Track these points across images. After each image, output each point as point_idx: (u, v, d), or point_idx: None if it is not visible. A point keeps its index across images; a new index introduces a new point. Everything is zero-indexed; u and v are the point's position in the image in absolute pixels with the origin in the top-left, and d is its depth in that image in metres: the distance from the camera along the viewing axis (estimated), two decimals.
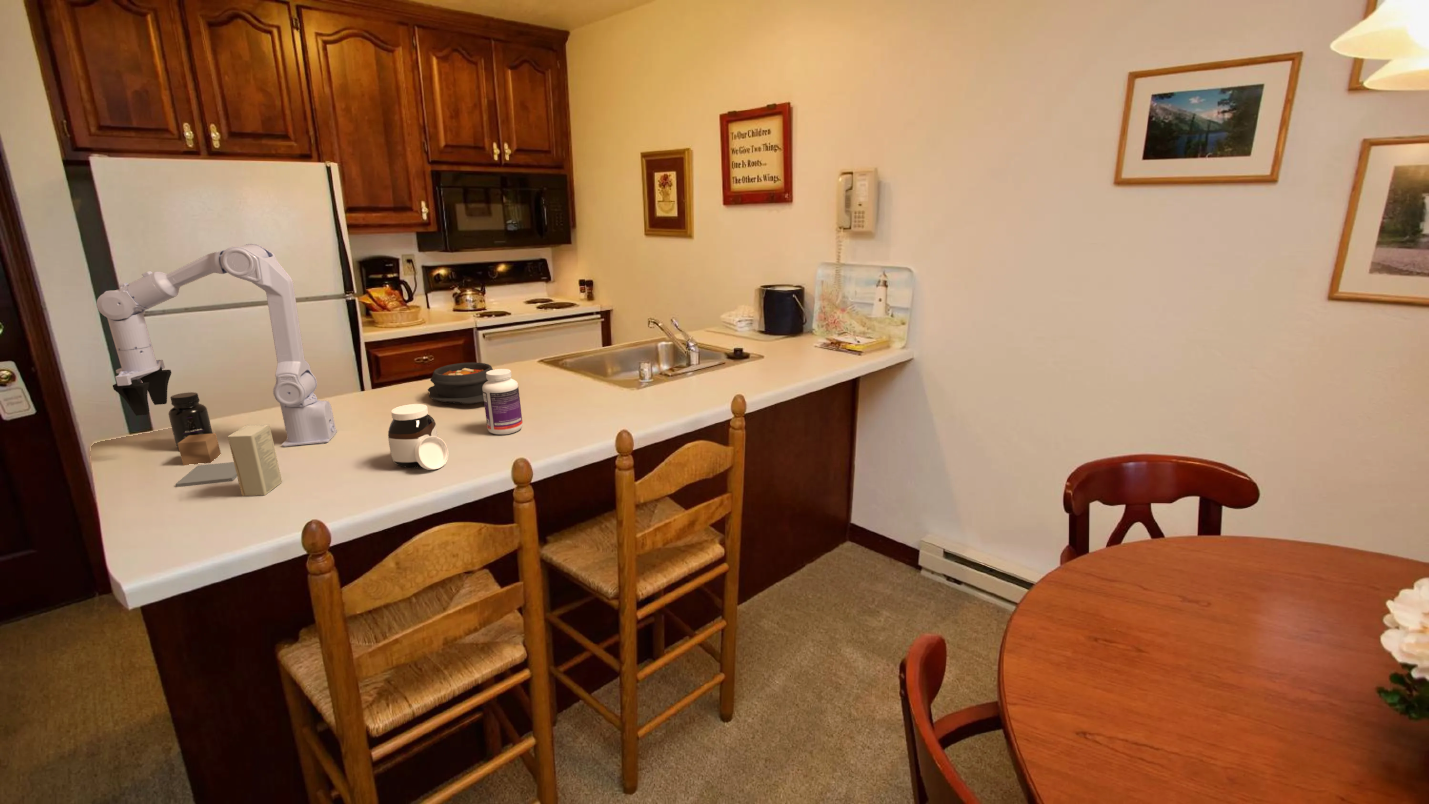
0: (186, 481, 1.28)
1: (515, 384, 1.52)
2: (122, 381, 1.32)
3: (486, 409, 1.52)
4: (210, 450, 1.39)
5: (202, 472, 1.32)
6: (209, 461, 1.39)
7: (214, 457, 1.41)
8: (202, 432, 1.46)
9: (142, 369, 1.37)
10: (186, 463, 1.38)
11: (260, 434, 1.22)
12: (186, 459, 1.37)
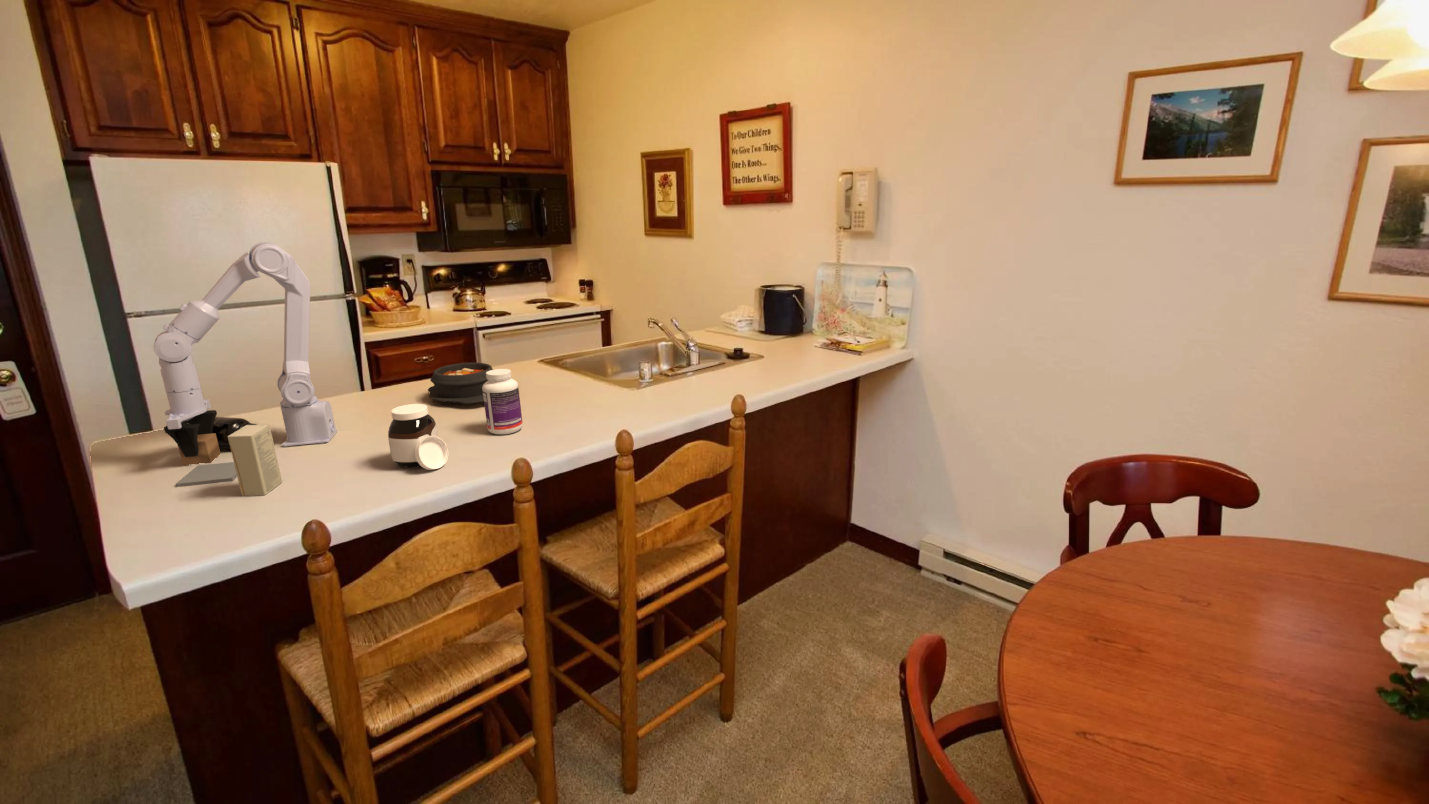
0: (186, 481, 1.28)
1: (515, 384, 1.52)
2: (172, 424, 1.31)
3: (486, 409, 1.52)
4: (210, 450, 1.39)
5: (202, 472, 1.32)
6: (209, 461, 1.39)
7: (214, 457, 1.40)
8: (220, 447, 1.47)
9: (191, 411, 1.35)
10: (186, 463, 1.38)
11: (260, 434, 1.22)
12: (186, 459, 1.37)
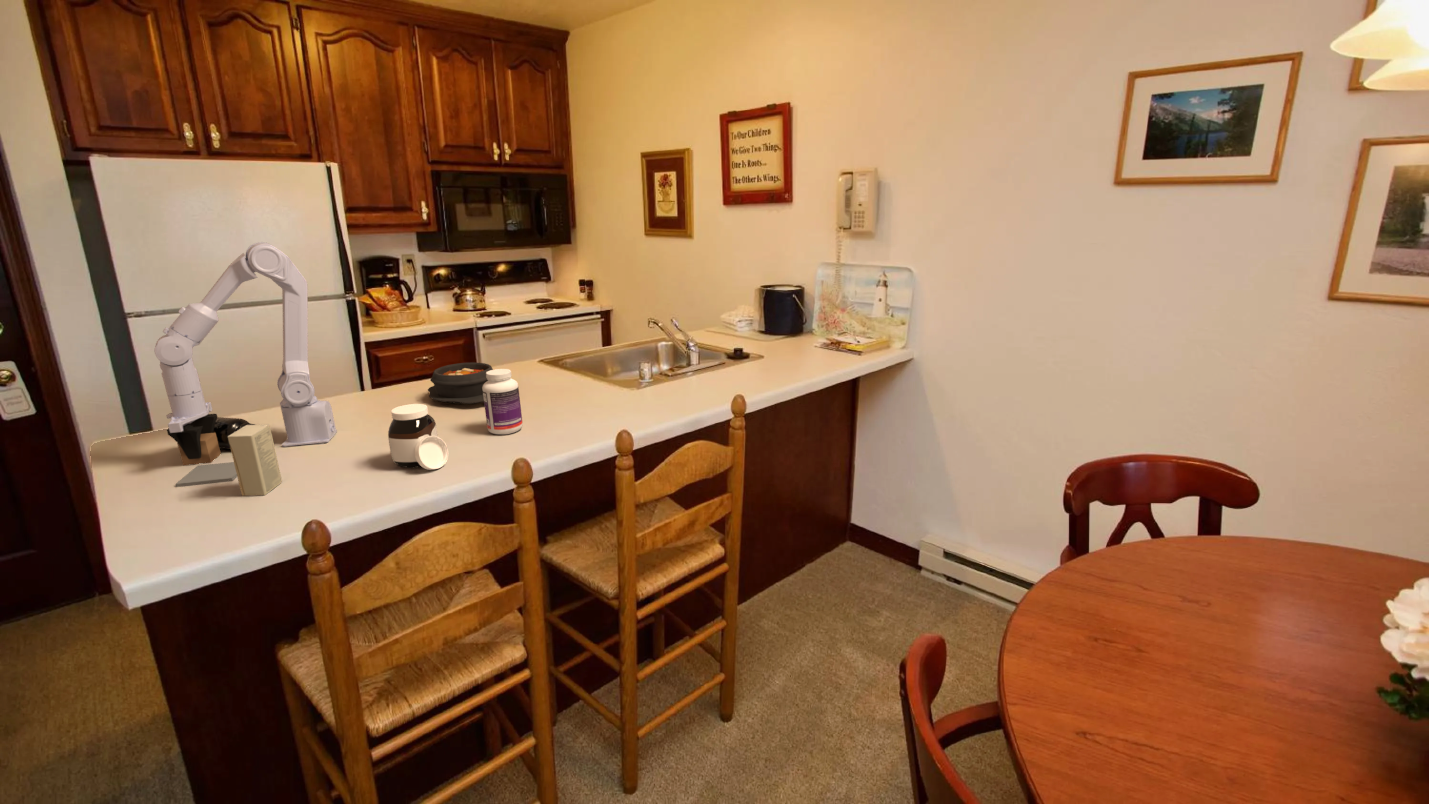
0: (186, 481, 1.28)
1: (515, 384, 1.52)
2: (174, 428, 1.31)
3: (486, 409, 1.52)
4: (210, 449, 1.39)
5: (202, 472, 1.32)
6: (209, 461, 1.39)
7: (214, 456, 1.40)
8: None
9: (193, 414, 1.35)
10: (186, 463, 1.38)
11: (260, 434, 1.22)
12: (186, 459, 1.37)
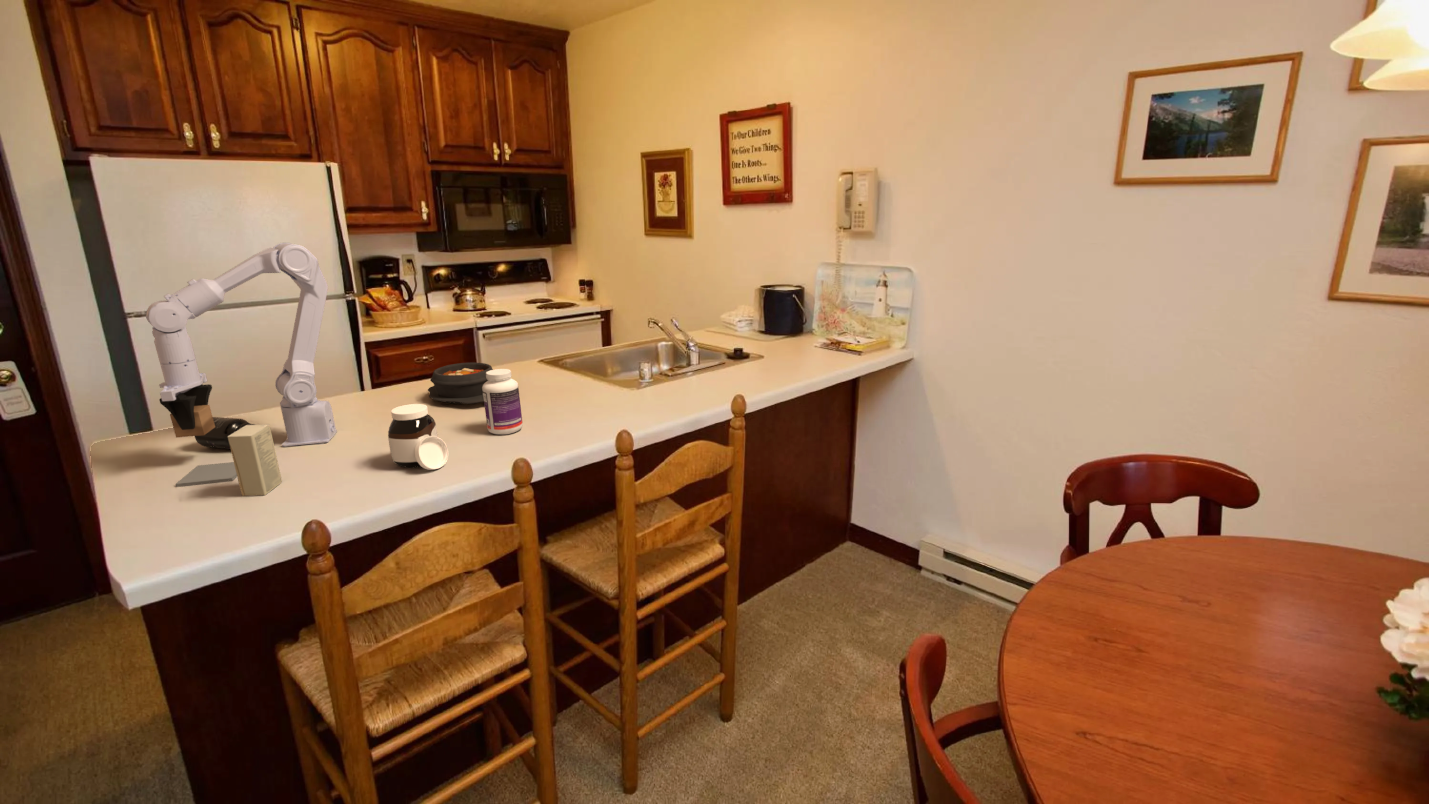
0: (186, 481, 1.28)
1: (515, 384, 1.52)
2: (166, 396, 1.28)
3: (486, 409, 1.52)
4: (204, 422, 1.36)
5: (202, 472, 1.32)
6: (202, 433, 1.35)
7: (207, 429, 1.37)
8: None
9: (186, 383, 1.32)
10: (179, 435, 1.34)
11: (260, 434, 1.22)
12: (179, 431, 1.34)
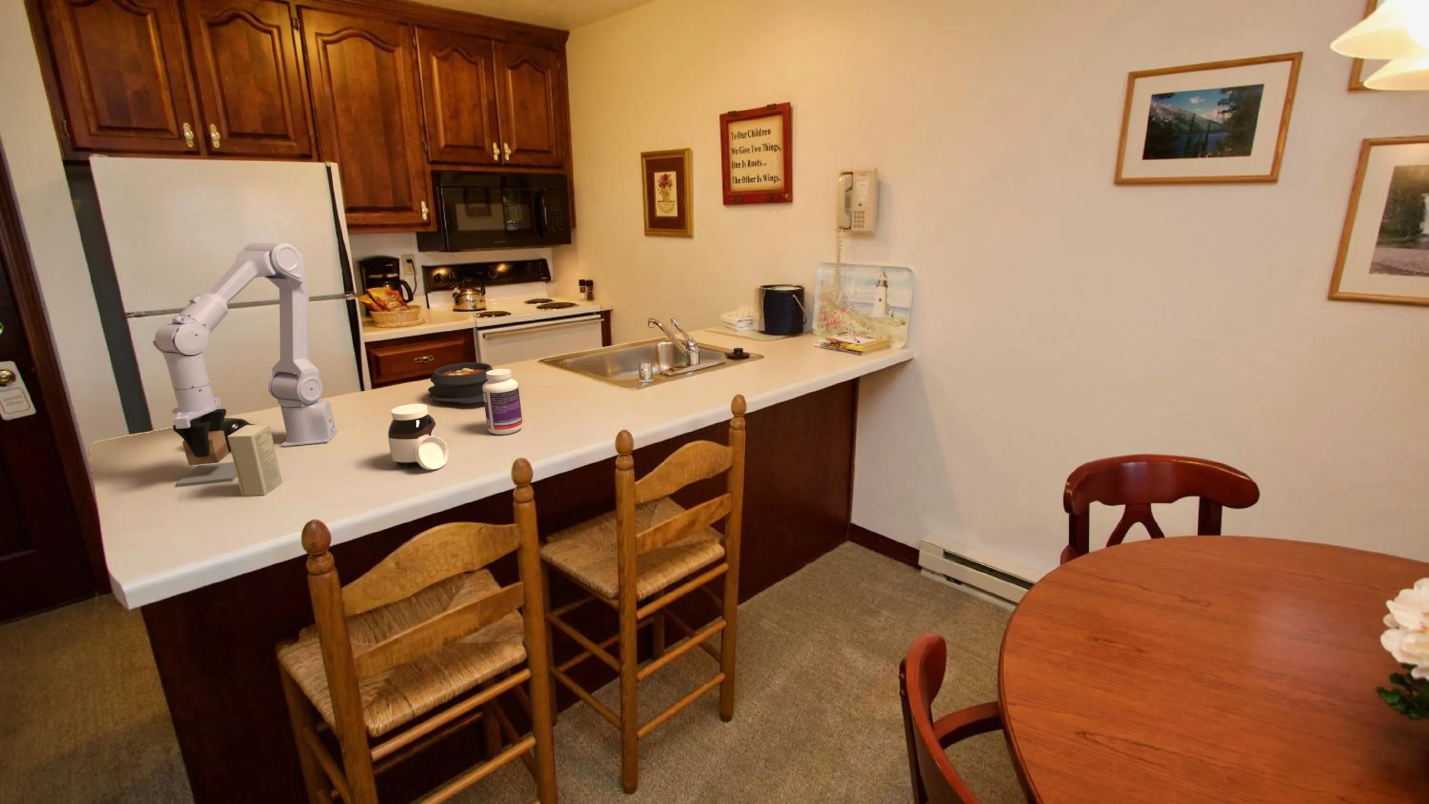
0: (186, 481, 1.28)
1: (515, 384, 1.52)
2: (181, 423, 1.22)
3: (486, 409, 1.52)
4: (217, 449, 1.30)
5: (202, 472, 1.32)
6: (216, 461, 1.30)
7: (221, 456, 1.32)
8: None
9: (200, 409, 1.27)
10: (191, 463, 1.29)
11: (260, 434, 1.22)
12: (191, 458, 1.29)
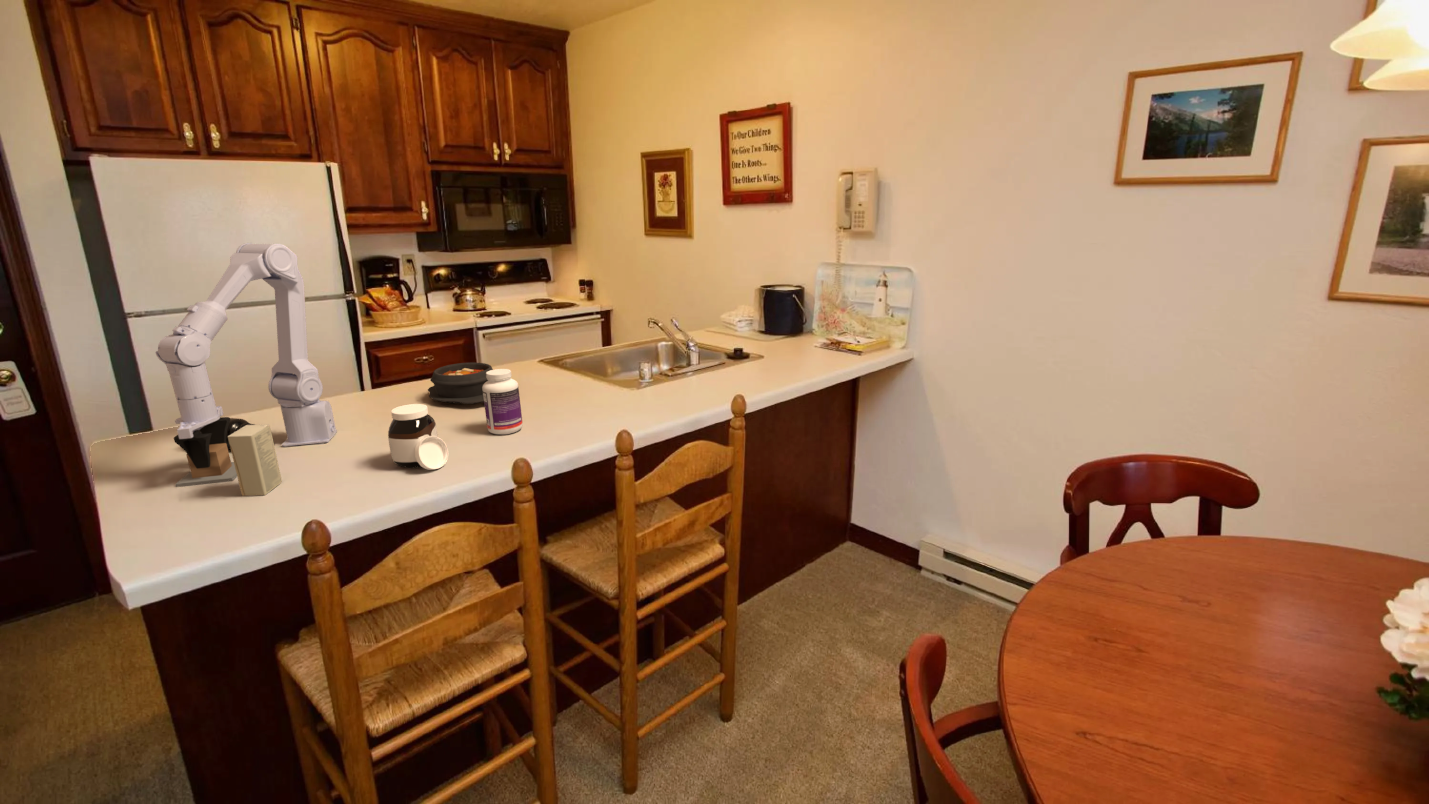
0: (186, 481, 1.28)
1: (515, 384, 1.52)
2: (183, 434, 1.23)
3: (486, 409, 1.52)
4: (221, 461, 1.31)
5: None
6: (220, 473, 1.31)
7: (225, 468, 1.33)
8: None
9: (203, 419, 1.27)
10: (195, 475, 1.30)
11: (260, 434, 1.22)
12: (195, 471, 1.29)
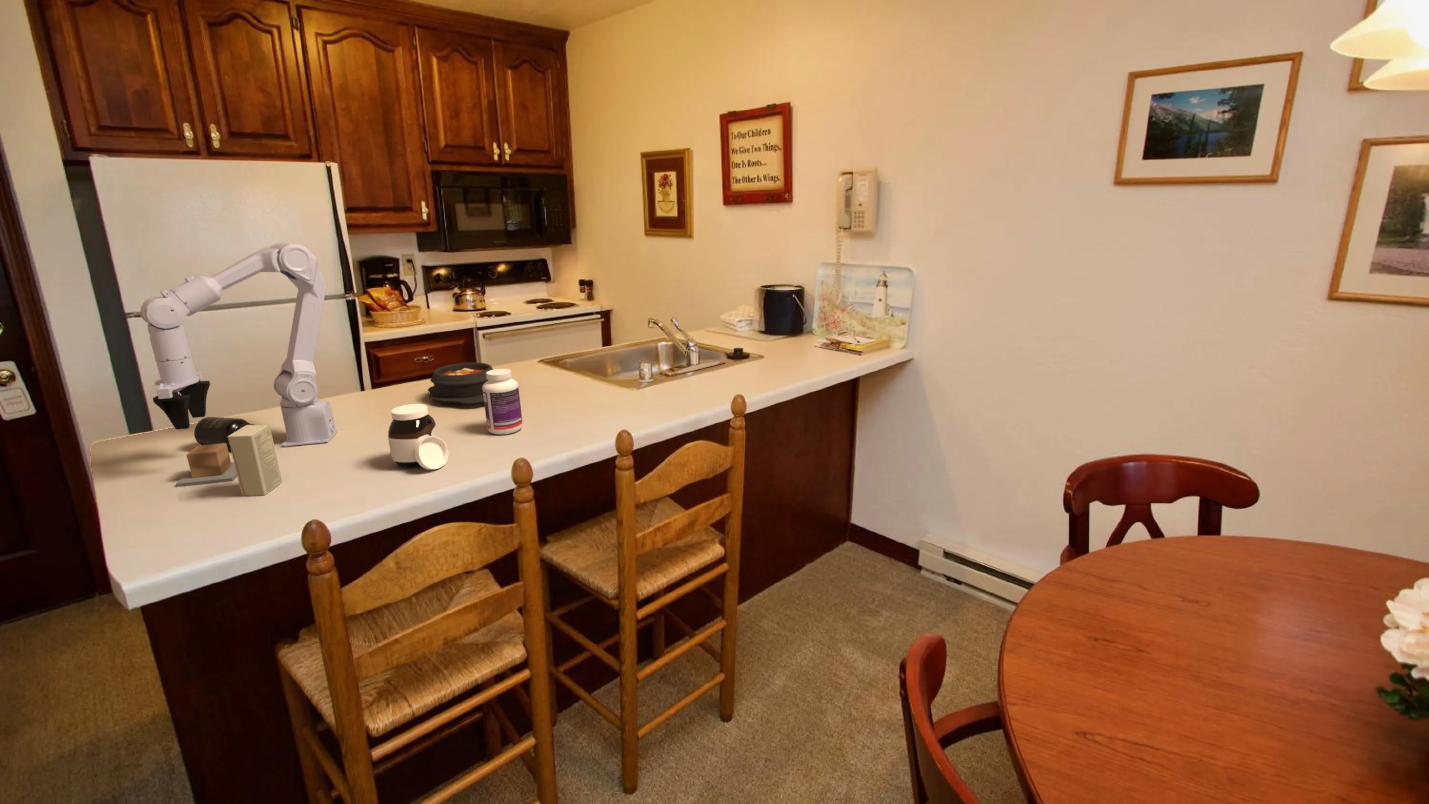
0: (186, 481, 1.28)
1: (515, 384, 1.52)
2: (163, 394, 1.26)
3: (486, 409, 1.52)
4: (221, 461, 1.31)
5: None
6: (220, 473, 1.31)
7: (225, 468, 1.33)
8: None
9: (183, 381, 1.30)
10: (195, 475, 1.30)
11: (260, 434, 1.22)
12: (195, 471, 1.29)
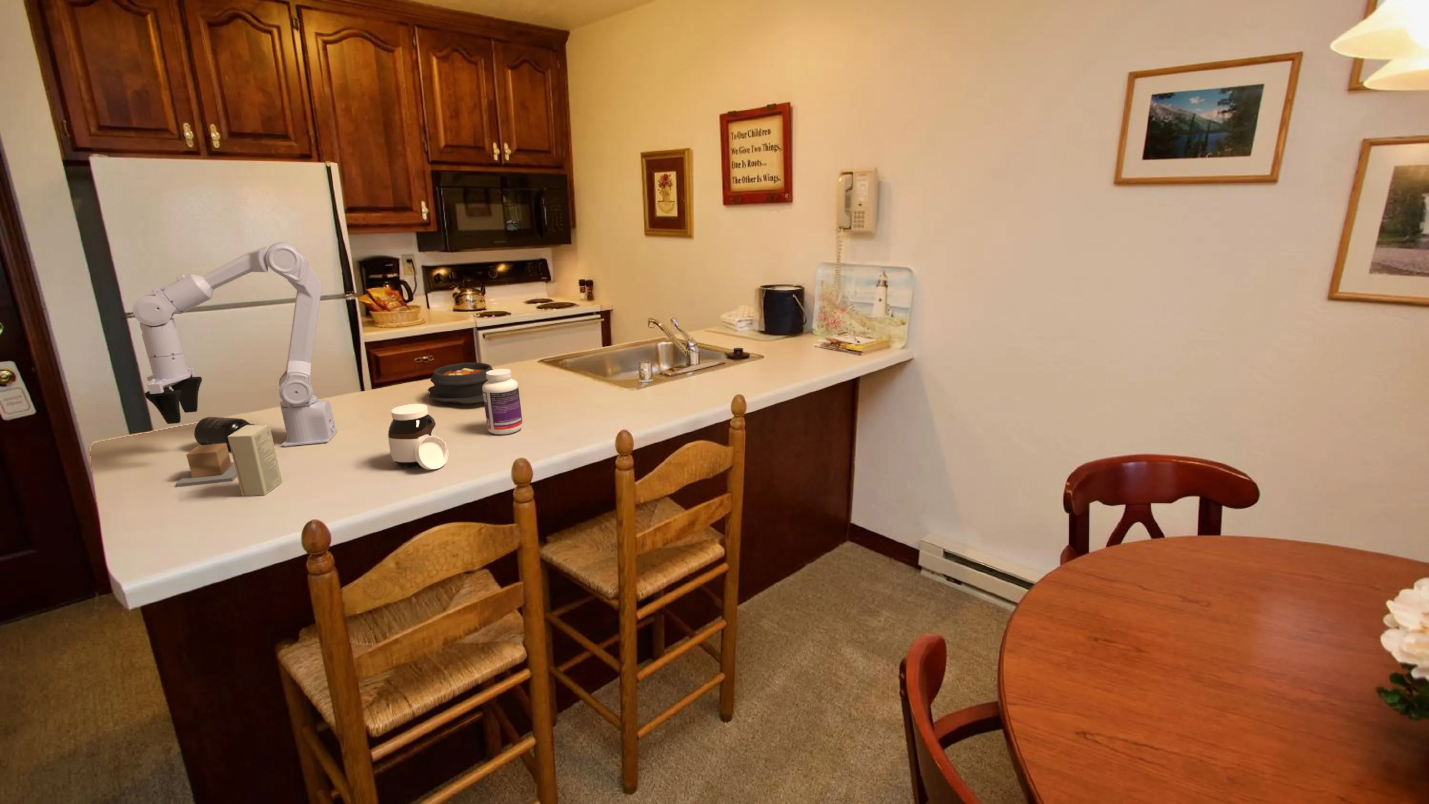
0: (186, 481, 1.28)
1: (515, 384, 1.52)
2: (154, 389, 1.29)
3: (486, 409, 1.52)
4: (221, 461, 1.31)
5: None
6: (220, 473, 1.31)
7: (225, 468, 1.33)
8: None
9: (174, 376, 1.33)
10: (195, 475, 1.30)
11: (260, 434, 1.22)
12: (195, 471, 1.29)
